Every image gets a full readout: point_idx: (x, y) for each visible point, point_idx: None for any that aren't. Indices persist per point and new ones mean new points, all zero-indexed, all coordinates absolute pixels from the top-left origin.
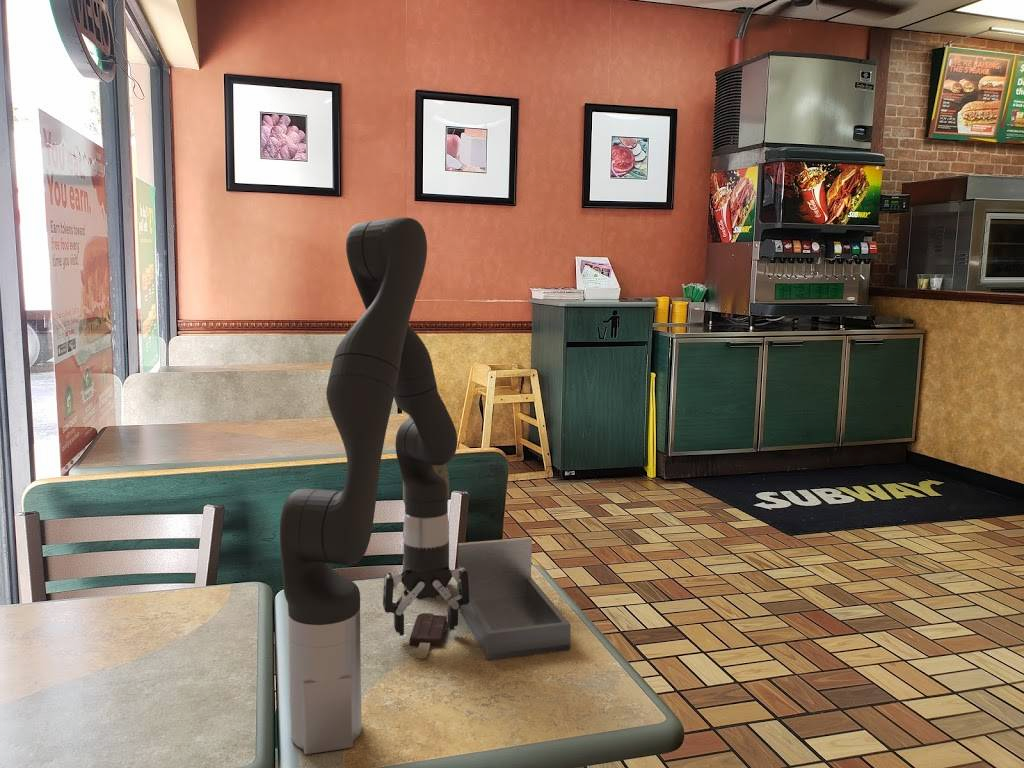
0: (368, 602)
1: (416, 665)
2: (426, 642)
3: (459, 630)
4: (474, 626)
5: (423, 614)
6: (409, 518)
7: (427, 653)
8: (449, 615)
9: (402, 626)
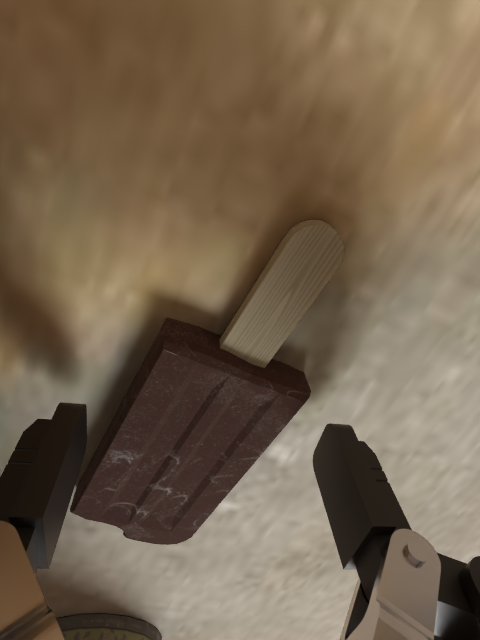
0: (283, 609)
1: (380, 170)
2: (236, 356)
3: (32, 421)
4: None
5: (165, 538)
6: None
7: (285, 245)
8: (62, 488)
9: (354, 462)
